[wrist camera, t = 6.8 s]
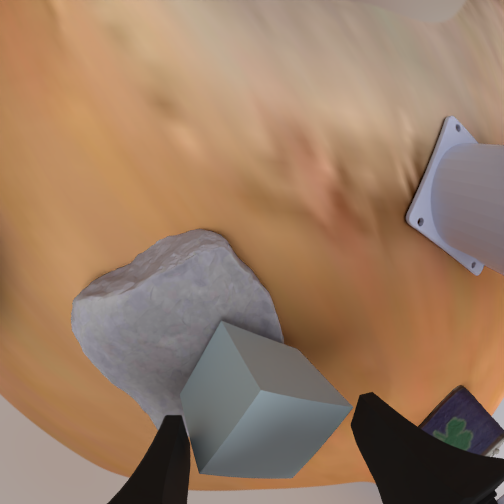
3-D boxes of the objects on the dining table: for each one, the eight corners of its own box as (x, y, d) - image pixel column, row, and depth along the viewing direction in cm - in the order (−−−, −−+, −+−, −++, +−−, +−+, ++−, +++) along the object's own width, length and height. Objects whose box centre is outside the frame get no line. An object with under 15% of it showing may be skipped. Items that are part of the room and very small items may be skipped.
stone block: (212, 204, 17) (70, 288, 15) (233, 212, 12) (45, 324, 11) (289, 351, 21) (173, 414, 19) (320, 389, 16) (182, 462, 15)
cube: (297, 348, 14) (353, 407, 10) (254, 412, 15) (291, 478, 10) (221, 320, 13) (260, 389, 8) (180, 394, 13) (199, 473, 8)
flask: (412, 444, 25) (450, 507, 14) (398, 443, 24) (439, 512, 14) (466, 386, 23) (519, 445, 13) (456, 382, 22) (514, 446, 12)
